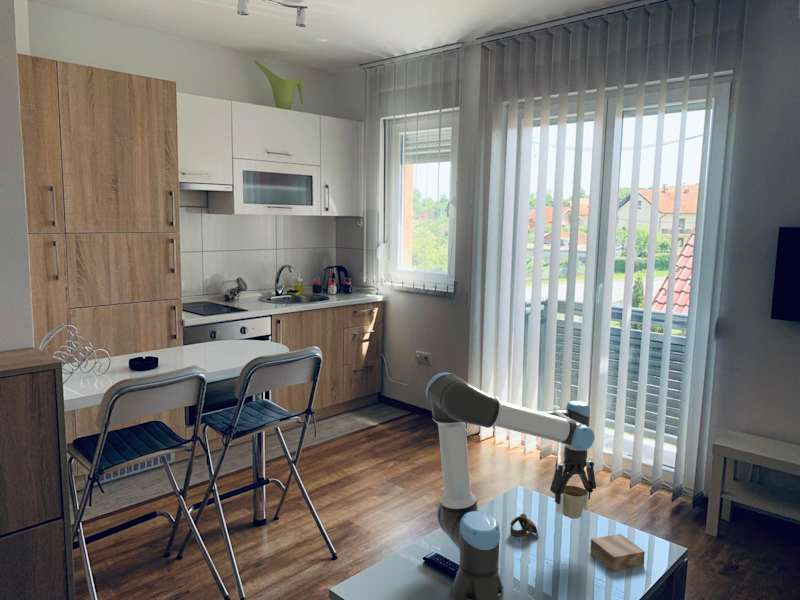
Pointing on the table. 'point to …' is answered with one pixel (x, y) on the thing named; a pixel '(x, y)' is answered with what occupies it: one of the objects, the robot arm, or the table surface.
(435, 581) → the table surface
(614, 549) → the walnut stand
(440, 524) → the robot arm
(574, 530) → the table surface
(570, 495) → the flower pot
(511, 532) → the broken clay jug
